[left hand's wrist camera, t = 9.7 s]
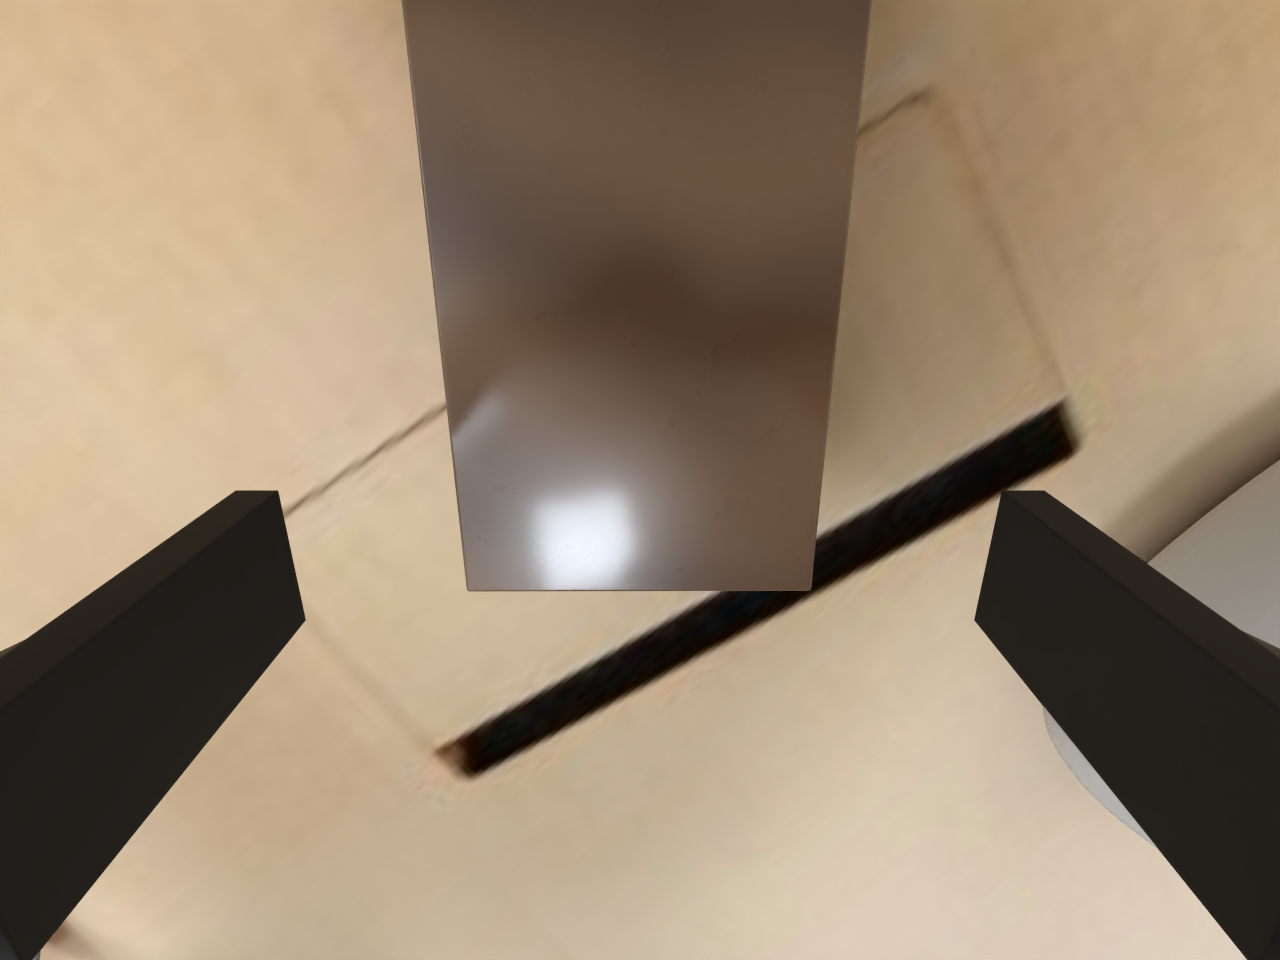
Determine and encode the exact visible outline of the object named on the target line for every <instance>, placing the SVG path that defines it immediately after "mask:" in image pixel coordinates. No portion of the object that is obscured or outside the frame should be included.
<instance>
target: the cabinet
mask: <svg viewBox="0 0 1280 960" xmlns="http://www.w3.org/2000/svg"><path fill="white" fill-rule="evenodd" d="M871 2H872V0H402V7H403V16H404V25H405V34H406V43H407V53H408V62H409V71H410V80H411V89H412V98H413V107H414V116H415V125H416V134H417V143H418V152H419V161H420V170H421V179H422V188H423V197H424V206H425V215H426V224H427V233H428V242H429V251H430V260H431V269H432V278H433V287H434V296H435V306H436V315H437V324H438V333H439V342H440V351H441V360H442V369H443V378H444V387H445V396H446V405H447V414H448V423H449V432H450V441H451V450H452V459H453V468H454V477H455V486H456V495H457V504H458V513H459V522H460V531H461V540H462V549H463V559H464V568H465V577H466V586H467V590H468V591H808V590H810V589H811V582H812V572H813V562H814V553H815V543H816V533H817V524H818V514H819V504H820V495H821V485H822V475H823V466H824V456H825V446H826V437H827V427H828V417H829V408H830V398H831V388H832V379H833V369H834V359H835V350H836V340H837V330H838V321H839V311H840V301H841V292H842V282H843V272H844V263H845V253H846V243H847V234H848V224H849V214H850V205H851V195H852V185H853V176H854V166H855V156H856V147H857V137H858V127H859V118H860V108H861V98H862V89H863V79H864V69H865V60H866V50H867V40H868V31H869V21H870V11H871Z"/></svg>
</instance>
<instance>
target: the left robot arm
mask: <svg viewBox="0 0 1280 960" xmlns="http://www.w3.org/2000/svg"><path fill="white" fill-rule="evenodd" d="M305 620H306V619H305V615H304V610H303V605H302V601H301V596H300V591H299V587H298V582H297V577H296V572H295V568H294V563H293V558H292V554H291V549H290V544H289V540H288V535H287V530H286V526H285V521H284V516H283V512H282V507H281V502H280V497H279V493H278V491H235V492H233V493H232V494H230V495H229V496H228V497H226V498H225V499H223V500H222V501H220V502H219V503H218V504H216V505H215V506H213V507H212V508H211V509H209V510H208V511H206V512H205V513H204V514H202V515H201V516H199V517H198V518H196V519H195V520H194V521H192V522H191V523H189V524H188V525H187V526H185V527H184V528H182V529H181V530H180V531H178V532H177V533H175V534H174V535H172V536H171V537H170V538H168V539H167V540H165V541H164V542H163V543H161V544H160V545H158V546H157V547H156V548H154V549H153V550H151V551H150V552H149V553H147V554H146V555H144V556H143V557H141V558H140V559H139V560H137V561H136V562H134V563H133V564H132V565H130V566H129V567H127V568H126V569H125V570H123V571H122V572H120V573H119V574H117V575H116V576H115V577H113V578H112V579H110V580H109V581H108V582H106V583H105V584H103V585H102V586H101V587H99V588H98V589H96V590H95V591H93V592H92V593H91V594H89V595H88V596H86V597H85V598H84V599H82V600H81V601H79V602H78V603H77V604H75V605H74V606H72V607H71V608H69V609H68V610H67V611H65V612H64V613H62V614H61V615H60V616H58V617H57V618H55V619H54V620H53V621H51V622H50V623H48V624H47V625H46V626H44V627H43V628H41V629H40V630H38V631H37V632H36V633H34V634H33V635H31V636H30V637H29V638H27V639H26V640H24V641H21V642H19V643H17V644H15V645H13V646H11V647H9V648H7V649H5V650H3V651H1V652H0V960H33V959H34V958H35V956H36V955H37V954H38V953H39V951H40V950H41V949H42V948H43V946H44V945H45V944H46V943H47V941H48V940H49V939H50V938H51V936H52V935H53V934H54V933H55V931H56V930H57V929H58V928H59V926H60V925H61V924H62V923H63V921H64V920H65V919H66V918H67V916H68V915H69V914H70V913H71V912H72V910H73V909H74V908H75V907H76V905H77V904H78V903H79V902H80V900H81V899H82V898H83V897H84V895H85V894H86V893H87V892H88V890H89V889H90V888H91V887H92V885H93V884H94V883H95V882H96V880H97V879H98V878H99V877H100V875H101V874H102V873H103V872H104V870H105V869H106V868H107V867H108V865H109V864H110V863H111V862H112V861H113V859H114V858H115V857H116V856H117V854H118V853H119V852H120V851H121V849H122V848H123V847H124V846H125V844H126V843H127V842H128V841H129V839H130V838H131V837H132V836H133V834H134V833H135V832H136V831H137V829H138V828H139V827H140V826H141V824H142V823H143V822H144V821H145V819H146V818H147V817H148V816H149V814H150V813H151V812H152V811H153V809H154V808H155V807H156V806H157V805H158V803H159V802H160V801H161V800H162V798H163V797H164V796H165V795H166V793H167V792H168V791H169V790H170V788H171V787H172V786H173V785H174V783H175V782H176V781H177V780H178V778H179V777H180V776H181V775H182V773H183V772H184V771H185V770H186V768H187V767H188V766H189V765H190V763H191V762H192V761H193V760H194V758H195V757H196V756H197V755H198V753H199V752H200V751H201V750H202V749H203V747H204V746H205V745H206V744H207V742H208V741H209V740H210V739H211V737H212V736H213V735H214V734H215V732H216V731H217V730H218V729H219V727H220V726H221V725H222V724H223V722H224V721H225V720H226V719H227V717H228V716H229V715H230V714H231V712H232V711H233V710H234V709H235V707H236V706H237V705H238V704H239V702H240V701H241V700H242V699H243V697H244V696H245V695H246V694H247V693H248V691H249V690H250V689H251V688H252V686H253V685H254V684H255V683H256V681H257V680H258V679H259V678H260V676H261V675H262V674H263V673H264V671H265V670H266V669H267V668H268V666H269V665H270V664H271V663H272V661H273V660H274V659H275V658H276V656H277V655H278V654H279V653H280V651H281V650H282V649H283V648H284V646H285V645H286V644H287V643H288V641H289V640H290V639H291V638H292V637H293V635H294V634H295V633H296V632H297V630H298V629H299V628H300V627H301V625H302V624H303V623H304V622H305ZM974 620H975V622H976V623H977V624H978V625H979V627H980V628H981V629H982V630H983V632H984V633H985V634H986V635H987V637H988V638H989V639H990V640H991V642H992V643H993V644H994V645H995V646H996V648H997V649H998V650H999V651H1000V653H1001V654H1002V655H1003V656H1004V658H1005V659H1006V660H1007V661H1008V663H1009V664H1010V665H1011V666H1012V668H1013V669H1014V670H1015V671H1016V673H1017V674H1018V675H1019V676H1020V678H1021V679H1022V680H1023V681H1024V683H1025V684H1026V685H1027V686H1028V688H1029V689H1030V690H1031V691H1032V693H1033V694H1034V695H1035V696H1036V697H1037V699H1038V700H1039V701H1040V702H1041V704H1042V705H1043V706H1044V707H1045V709H1046V710H1047V711H1048V712H1049V714H1050V715H1051V716H1052V717H1053V719H1054V720H1055V721H1056V722H1057V724H1058V725H1059V726H1060V727H1061V729H1062V730H1063V731H1064V732H1065V734H1066V735H1067V736H1068V737H1069V739H1070V740H1071V741H1072V742H1073V744H1074V745H1075V746H1076V747H1077V749H1078V750H1079V751H1080V752H1081V753H1082V755H1083V756H1084V757H1085V758H1086V760H1087V761H1088V762H1089V763H1090V765H1091V766H1092V767H1093V768H1094V770H1095V771H1096V772H1097V773H1098V775H1099V776H1100V777H1101V778H1102V780H1103V781H1104V782H1105V783H1106V785H1107V786H1108V787H1109V788H1110V790H1111V791H1112V792H1113V793H1114V795H1115V796H1116V797H1117V798H1118V800H1119V801H1120V802H1121V803H1122V805H1123V806H1124V807H1125V808H1126V809H1127V811H1128V812H1129V813H1130V814H1131V816H1132V817H1133V818H1134V819H1135V821H1136V822H1137V823H1138V824H1139V826H1140V827H1141V828H1142V829H1143V831H1144V832H1145V833H1146V834H1147V836H1148V837H1149V838H1150V839H1151V841H1152V842H1153V843H1154V844H1155V846H1156V847H1157V848H1158V849H1159V851H1160V852H1161V853H1162V854H1163V856H1164V857H1165V858H1166V859H1167V861H1168V862H1169V863H1170V864H1171V865H1172V867H1173V868H1174V869H1175V870H1176V872H1177V873H1178V874H1179V875H1180V877H1181V878H1182V879H1183V880H1184V882H1185V883H1186V884H1187V885H1188V887H1189V888H1190V889H1191V890H1192V892H1193V893H1194V894H1195V895H1196V897H1197V898H1198V899H1199V900H1200V902H1201V903H1202V904H1203V905H1204V907H1205V908H1206V909H1207V910H1208V912H1209V913H1210V914H1211V915H1212V916H1213V918H1214V919H1215V920H1216V921H1217V923H1218V924H1219V925H1220V926H1221V928H1222V929H1223V930H1224V931H1225V933H1226V934H1227V935H1228V936H1229V938H1230V939H1231V940H1232V941H1233V943H1234V944H1235V945H1236V946H1237V948H1238V949H1239V950H1240V951H1241V953H1242V954H1243V955H1244V956H1245V958H1246V959H1247V960H1280V648H1278V647H1275V646H1273V645H1271V644H1269V643H1267V642H1265V641H1263V640H1261V639H1259V638H1256V637H1254V636H1252V635H1250V634H1248V633H1246V632H1244V631H1242V630H1240V629H1239V628H1237V627H1236V626H1234V625H1233V624H1232V623H1230V622H1229V621H1227V620H1226V619H1225V618H1223V617H1222V616H1220V615H1219V614H1218V613H1216V612H1215V611H1213V610H1212V609H1210V608H1209V607H1208V606H1206V605H1205V604H1203V603H1202V602H1201V601H1199V600H1198V599H1196V598H1195V597H1194V596H1192V595H1191V594H1189V593H1188V592H1187V591H1185V590H1184V589H1182V588H1181V587H1179V586H1178V585H1177V584H1175V583H1174V582H1172V581H1171V580H1170V579H1168V578H1167V577H1165V576H1164V575H1163V574H1161V573H1160V572H1158V571H1157V570H1155V569H1154V568H1153V567H1151V566H1150V565H1148V564H1147V563H1146V562H1144V561H1143V560H1141V559H1140V558H1139V557H1137V556H1136V555H1134V554H1133V553H1131V552H1130V551H1129V550H1127V549H1126V548H1124V547H1123V546H1122V545H1120V544H1119V543H1117V542H1116V541H1115V540H1113V539H1112V538H1110V537H1109V536H1108V535H1106V534H1105V533H1103V532H1102V531H1100V530H1099V529H1098V528H1096V527H1095V526H1093V525H1092V524H1091V523H1089V522H1088V521H1086V520H1085V519H1084V518H1082V517H1081V516H1079V515H1078V514H1076V513H1075V512H1074V511H1072V510H1071V509H1069V508H1068V507H1067V506H1065V505H1064V504H1062V503H1061V502H1060V501H1058V500H1057V499H1055V498H1054V497H1052V496H1051V495H1050V494H1048V493H1047V492H1045V491H1002V493H1001V497H1000V502H999V507H998V511H997V516H996V521H995V526H994V530H993V535H992V540H991V544H990V549H989V554H988V558H987V563H986V568H985V572H984V577H983V582H982V586H981V591H980V596H979V601H978V605H977V610H976V615H975V619H974Z"/></svg>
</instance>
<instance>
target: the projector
mask: <svg viewBox="0 0 1280 960" xmlns="http://www.w3.org/2000/svg"><path fill="white" fill-rule="evenodd" d="M1147 564H1148V565H1150V566H1151V567H1153V568H1154V569H1155V570H1157V571H1158V572H1160V573H1161V574H1163V575H1164V576H1165V577H1167V578H1168V579H1170V580H1171V581H1172V582H1174V583H1175V584H1177V585H1178V586H1179V587H1181V588H1182V589H1184V590H1185V591H1187V592H1188V593H1189V594H1191V595H1192V596H1194V597H1195V598H1196V599H1198V600H1199V601H1201V602H1202V603H1203V604H1205V605H1206V606H1208V607H1209V608H1210V609H1212V610H1213V611H1215V612H1216V613H1218V614H1219V615H1220V616H1222V617H1223V618H1225V619H1226V620H1227V621H1229V622H1230V623H1232V624H1233V625H1234V626H1236V627H1237V628H1239V629H1240V630H1242V631H1244V632H1246V633H1248V634H1250V635H1252V636H1254V637H1256V638H1259V639H1261V640H1263V641H1265V642H1267V643H1269V644H1271V645H1273V646H1275V647H1278V648H1280V460H1279V461H1277V462H1276V463H1274V464H1273V465H1272V466H1270V467H1269V468H1267V469H1266V470H1265V471H1263V472H1262V473H1260V474H1259V475H1258V476H1256V477H1255V478H1253V479H1252V480H1251V481H1249V482H1248V483H1246V484H1245V485H1244V486H1242V487H1241V488H1240V489H1238V490H1237V491H1236V492H1235V493H1233V494H1232V495H1231V496H1229V497H1228V498H1227V499H1225V500H1224V501H1223V502H1222V503H1220V504H1219V505H1218V506H1216V507H1215V508H1214V509H1212V510H1211V511H1210V512H1208V513H1207V514H1206V515H1205V516H1203V517H1202V518H1201V519H1200V520H1198V521H1197V522H1196V523H1195V524H1193V525H1192V526H1191V527H1190V528H1189V529H1187V530H1186V531H1185V532H1184V533H1182V534H1181V535H1180V536H1179V537H1178V538H1176V539H1175V540H1174V541H1173V542H1171V543H1170V544H1169V545H1168V546H1167V547H1165V548H1164V549H1163V550H1162V551H1161V552H1160V553H1158V554H1157V555H1156V556H1155V557H1154V558H1153V559H1152V560H1150V561H1149V562H1148V563H1147ZM1043 712H1044V718H1045V722H1046V726H1047V730H1048V733H1049V735H1050V737H1051V740H1052V742H1053V744H1054V745H1055V747H1056V749H1057V751H1058V752H1059V754H1060V756H1061V757H1062V759H1063V760H1064V761H1065V763H1066V764H1067V766H1068V767H1069V768H1070V770H1071V771H1072V772H1073V774H1074V775H1075V776H1076V778H1077V779H1078V780H1079V781H1080V782H1081V784H1082V785H1083V786H1084V787H1085V788H1086V789H1087V790H1088V792H1089V793H1090V794H1091V795H1092V796H1093V797H1094V798H1095V799H1096V800H1098V801H1099V802H1100V803H1101V804H1102V805H1103V806H1104V807H1105V808H1106V809H1107V810H1108V811H1109V812H1110V813H1112V814H1113V815H1114V816H1115V817H1117V818H1118V819H1119V820H1120V821H1122V822H1123V823H1124V824H1125V825H1127V826H1128V827H1129V828H1130V829H1132V830H1133V831H1134V832H1136V833H1137V834H1138V835H1140V836H1141V837H1142V838H1144V839H1145V840H1146V841H1148V842H1149V843H1151V844H1152V845H1153V846H1155V844H1154V843H1153V842H1152V841H1151V839H1150V838H1149V837H1148V836H1147V834H1146V833H1145V832H1144V831H1143V829H1142V828H1141V827H1140V826H1139V824H1138V823H1137V822H1136V821H1135V819H1134V818H1133V817H1132V816H1131V814H1130V813H1129V812H1128V811H1127V809H1126V808H1125V807H1124V806H1123V805H1122V803H1121V802H1120V801H1119V800H1118V798H1117V797H1116V796H1115V795H1114V793H1113V792H1112V791H1111V790H1110V788H1109V787H1108V786H1107V785H1106V783H1105V782H1104V781H1103V780H1102V778H1101V777H1100V776H1099V775H1098V773H1097V772H1096V771H1095V770H1094V768H1093V767H1092V766H1091V765H1090V763H1089V762H1088V761H1087V760H1086V758H1085V757H1084V756H1083V755H1082V753H1081V752H1080V751H1079V750H1078V749H1077V747H1076V746H1075V745H1074V744H1073V742H1072V741H1071V740H1070V739H1069V737H1068V736H1067V735H1066V734H1065V732H1064V731H1063V730H1062V729H1061V727H1060V726H1059V725H1058V724H1057V722H1056V721H1055V720H1054V719H1053V717H1052V716H1051V715H1050V714H1049V712H1048V711H1047V710H1046V709H1045V707H1044V706H1043ZM1155 847H1156V846H1155ZM1156 848H1157V847H1156Z"/></svg>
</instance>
